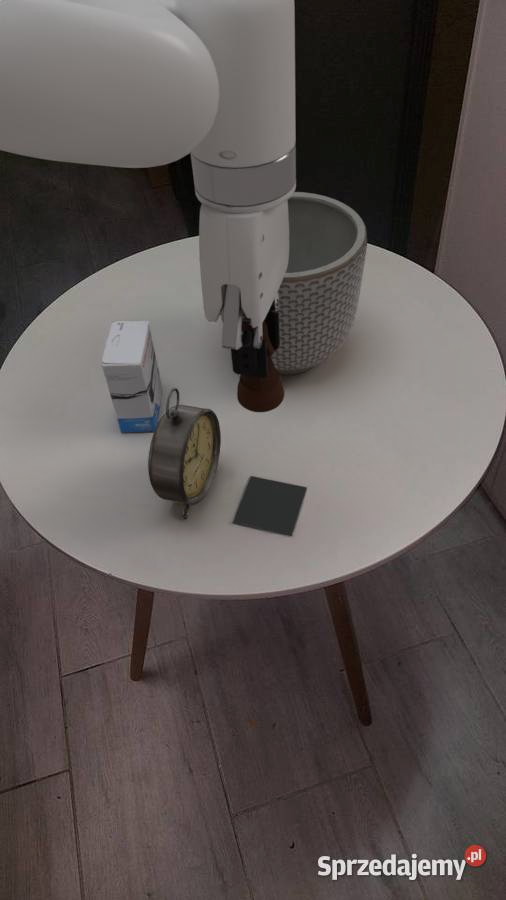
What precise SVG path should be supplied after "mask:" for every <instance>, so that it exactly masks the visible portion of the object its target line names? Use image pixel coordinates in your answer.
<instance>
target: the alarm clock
mask: <svg viewBox="0 0 506 900" xmlns="http://www.w3.org/2000/svg"><path fill="white" fill-rule="evenodd" d="M174 392H175V394H176V404H175V405H173V406H172V407H170V404H171V403H170V402H171V398H172V395H173V394H174ZM221 435H222V434H221V425H220V421H219V419H218V416H217V414H216V412H215V411H214V410H213V409H210V408H206V407H205V408H204V407H198V406H191V405H186V404H180V391H179V389H178V388H177V387H173V388H172V389H170V391H169V393H168V396H167V399H166V404H165V412H164V414H162V416H161V418H160V419H159V421H157V426H156V429H155V431H153V434H152V438H151V440H150V445H149V451H148V459H147V472H148V473H147V474H148V478H149V483H150V486H151V488H152V490H153V492H154V493H155V495H157V496H158V497H159V498H160V499H161V500H165V501H171V502H175V503H179V504H182V513H183V514H182V519H183V520H187V519H189V516H188V513H189V509H190V506H196V505H198V504H199V503H200V502H202V500H203V499H204V498H205V497H206V496H207V494H208V493H209V490H210V488H211V486H212V484H213V481H214V479H215V477H216V473H217V469H218V465H219V459H220V454H221V444H222V443H221V442H222V439H221Z"/></svg>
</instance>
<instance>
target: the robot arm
mask: <svg viewBox="0 0 506 900" xmlns="http://www.w3.org/2000/svg"><path fill="white" fill-rule="evenodd" d="M295 13H296V12H295V0H0V151H3V152H7V153H11V154H15V155H20V156H23V157H28V158H29V157H30V158H34V159H40V160H46V161H47V160H48V161H54V162H61V163H63V162H64V163H72V164H73V163H74V164H84V165H91V166H103V167H104V166H105V167H114V168H125V169H126V168H127V169H128V168H129V169H131V168H132V169H142V168H145V169H146V168H147V169H148V168H152V167H153V168H154V167H160V166H164V165H168V164H172V163H174V162H177V161H178V160H181V159H182V158H184V157H186V156H187V155H190V162H191V170H192V175H193V177H192V178H193V186H194V193H195V196H196V199H197V200H198V201H199V202H200V204H201V205H200V207H199V224H198V250H199V252H198V253H199V254H198V255H199V271H200V284H201V295H202V297H201V298H202V306H203V307H202V308H203V314H204V317H205V319H206V321H207V322H210V323H211V322H213V323H217V321H218V320H219V319H220V317H221V316H220V314H221V312H222V310H223V308H224V319H223V322H222V331H221V332H222V333H221V348H222V349H230V355H231V363H232V371H233V373H234V374H235V375H239V376H240V375H246V376H252V377H258V378H266V377H267V374H268V357H267V341H264V340H263V326H262V322H263V321H264V319H265V317H266V319H265V323H266V325H267V326H268V327H267V329H268V337H269V340H270V342H271V344H272V347H273V348H274V350H277V349H278V348H279V346H280V329H279V313H277V312H273V311H277V310H278V306H279V293H278V289H279V287H280V285H281V282H282V280H283V278H284V275H285V273H286V270H287V266H288V261H289V215H288V199H289V198H290V197H291V196H292V195H293V194H294V192H296V188H297V145H296V144H297V143H296V142H297V141H296V140H297V139H296V131H297V129H296V127H297V126H296V26H295V25H296V23H295V22H296V21H295V19H296V18H295V17H296V16H295ZM242 322H244V323H249V324H250V325H252V328H253V332H251V331H247V330H242Z"/></svg>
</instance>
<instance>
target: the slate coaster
mask: <svg viewBox="0 0 506 900" xmlns="http://www.w3.org/2000/svg"><path fill="white" fill-rule="evenodd" d="M307 490H308V486H304V485H298V484H292V483H289V482H284V481H278V480H273V479H268V478H264V477H263V478H262V477H259V476H254V475H250V477H249V478H248V481H247V484H246V487H245V489H244V492H243V495H242V497H241V500H240V502H239V505H238V508H237V510H236V513H235V515H234V518H233V520H232V524H235V525H238V526H243V527H248V528H252V529H257V530H260V531H261V530H262V531H267V532H271V533H275V534H279V535H280V534H281V535H284V536H288V537H292V536H293V534H294V531H295V528H296V526H297V522H298V518H299V515H300V512H301V509H302V507H303V504H304V500H305V497H306V493H307Z"/></svg>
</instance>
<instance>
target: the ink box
mask: <svg viewBox="0 0 506 900" xmlns="http://www.w3.org/2000/svg"><path fill="white" fill-rule="evenodd" d="M109 327H110V328H109V330H108V335H107V338H106V341H105V346H104V349H103V352H102V356H101V368H102V371H103V374H104V378H105V382H106V385H107V387H108V391H109V395H110V398H111V402H112V407H113V409H114V414H115V416H116V420H117V423H118V427H119V431H120V433H124V434H125V433H147V432H148V433H149V432H154V431H155V429H156V426H157V424H158V422H159V421H158V420H159V412H160V407H161V400H162V393H163V385H162V379H161V374H160V370H159V365H158V361H157V356H156V350H155V346H154V342H153V337H152V332H151V328H150V321H148V320H127V321H126V320H117V321H112V323H110V326H109Z"/></svg>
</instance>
